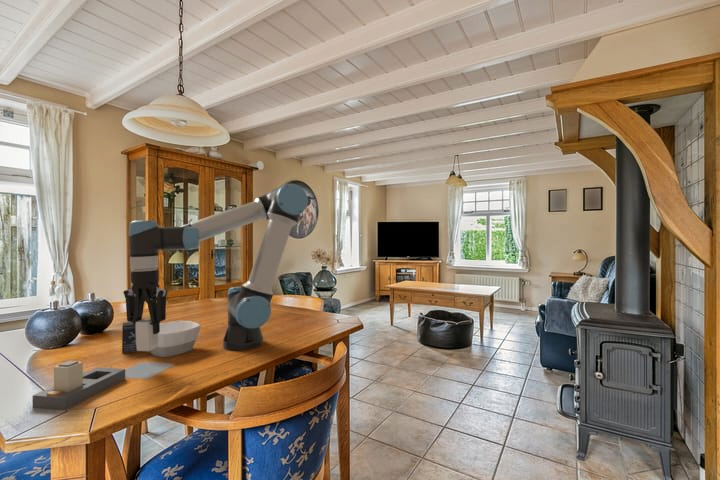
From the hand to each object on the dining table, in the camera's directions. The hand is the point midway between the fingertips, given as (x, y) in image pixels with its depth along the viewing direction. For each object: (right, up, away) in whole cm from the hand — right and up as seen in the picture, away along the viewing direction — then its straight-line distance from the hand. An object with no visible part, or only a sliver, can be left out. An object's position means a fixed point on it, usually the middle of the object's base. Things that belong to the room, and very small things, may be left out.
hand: (147, 343), depth 107 cm
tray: (-1, -9, 0) cm, 9 cm away
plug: (0, -2, 0) cm, 2 cm away
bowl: (-2, -9, +18) cm, 20 cm away
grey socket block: (-8, -9, -15) cm, 19 cm away
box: (-16, -9, +19) cm, 26 cm away
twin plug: (-8, -8, -19) cm, 23 cm away
